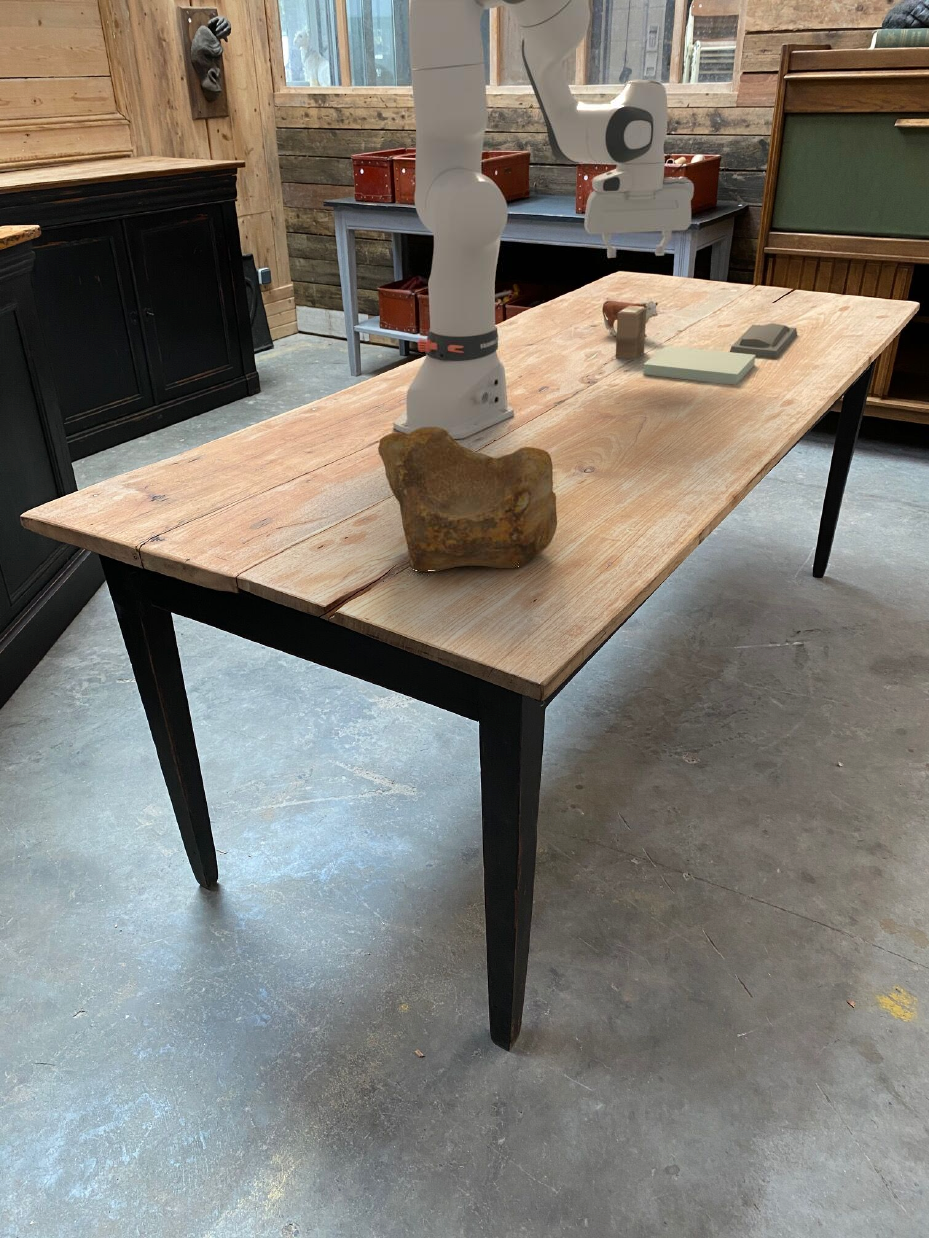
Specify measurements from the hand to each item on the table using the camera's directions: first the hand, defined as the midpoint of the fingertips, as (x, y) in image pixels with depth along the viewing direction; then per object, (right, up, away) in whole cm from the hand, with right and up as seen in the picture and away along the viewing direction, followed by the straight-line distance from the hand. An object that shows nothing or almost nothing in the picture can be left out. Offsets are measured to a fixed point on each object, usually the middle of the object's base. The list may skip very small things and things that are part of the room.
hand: (635, 256), depth 184 cm
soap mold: (+29, -14, +14) cm, 35 cm away
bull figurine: (+3, -9, +23) cm, 25 cm away
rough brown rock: (-35, -64, -65) cm, 98 cm away
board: (+12, -22, -1) cm, 26 cm away
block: (+1, -17, +10) cm, 19 cm away
